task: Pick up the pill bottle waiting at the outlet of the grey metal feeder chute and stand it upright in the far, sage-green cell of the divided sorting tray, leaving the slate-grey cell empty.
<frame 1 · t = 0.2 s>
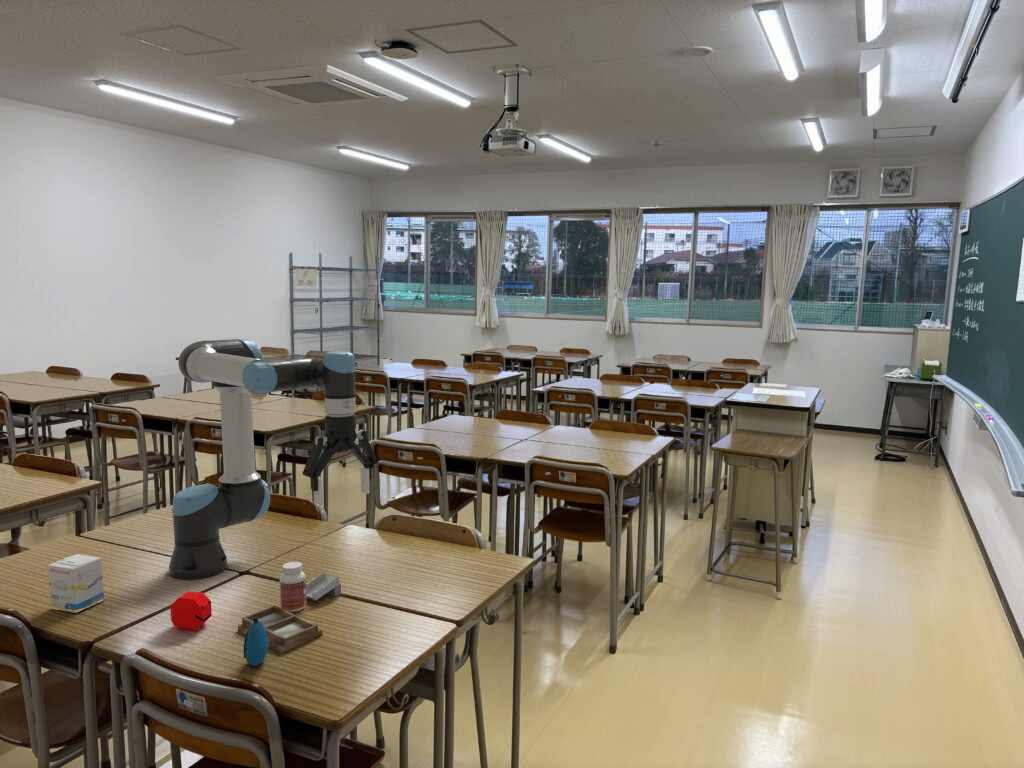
hand: (342, 497, 180), 27 cm above the table, fingers open, 13 cm apart
ornament: (256, 663, 152), on the table
divided sorting tray: (279, 632, 165), on the table
ball: (191, 626, 169), on the table
ink box: (78, 606, 179), on the table
pill bottle: (293, 608, 179), on the table
feeder chute: (320, 596, 185), on the table
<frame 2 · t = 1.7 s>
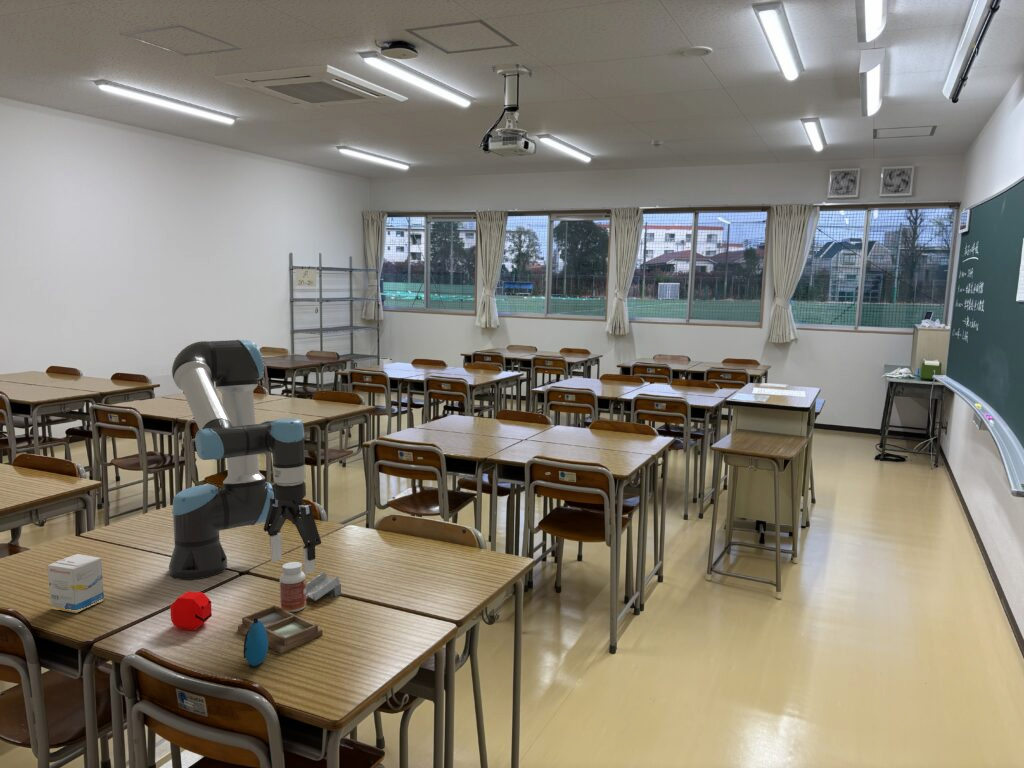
hand: (292, 566, 177), 11 cm above the table, fingers open, 13 cm apart
nothing on the table moved.
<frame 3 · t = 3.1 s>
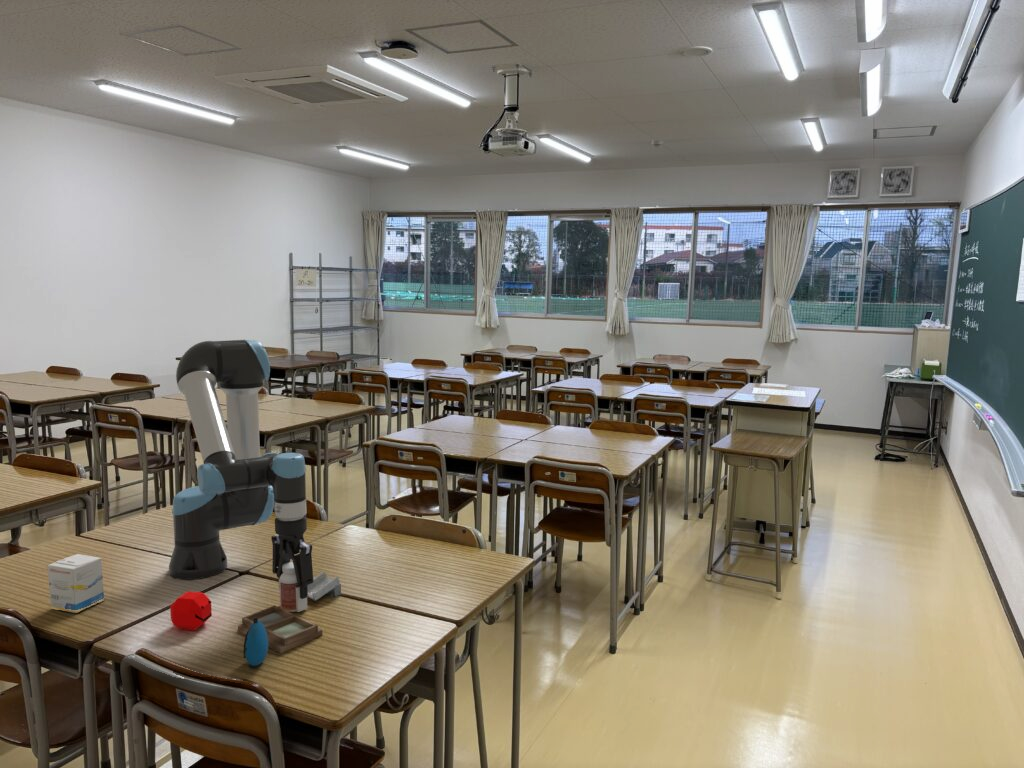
hand: (293, 605, 179), 0 cm above the table, fingers closed on pill bottle, 6 cm apart
pill bottle: (293, 608, 179), on the table, touching gripper
everything else where it was.
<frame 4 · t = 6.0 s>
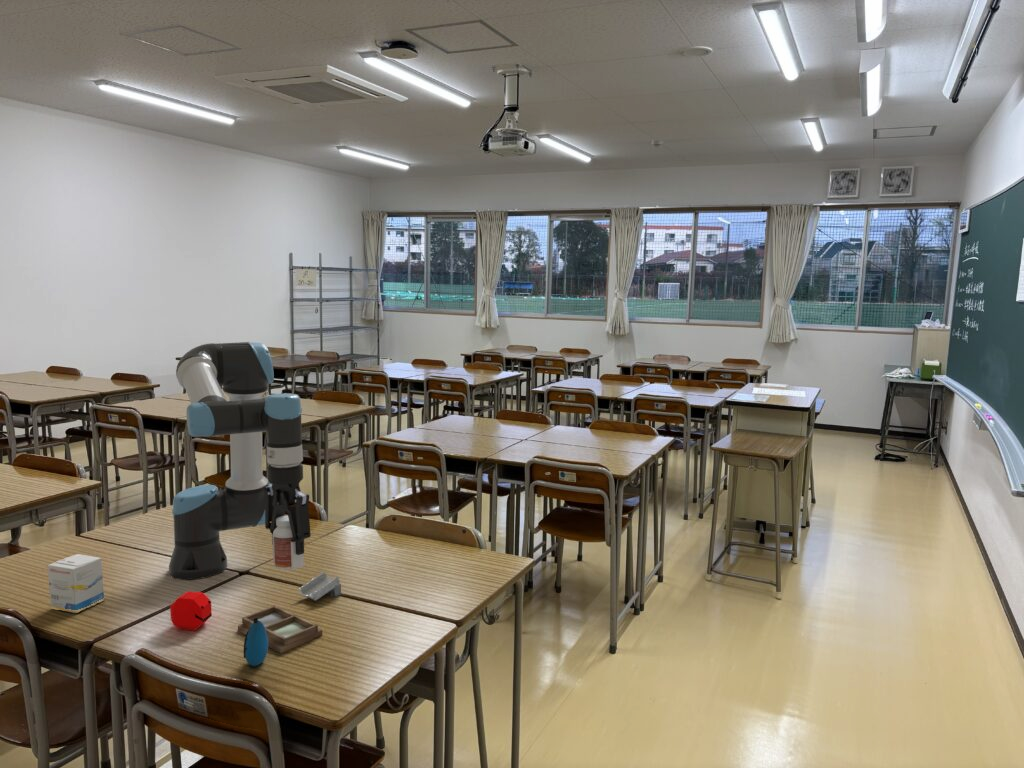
hand: (288, 563, 161), 17 cm above the table, fingers closed on pill bottle, 6 cm apart
pill bottle: (288, 566, 161), point 17 cm above the table, touching gripper
everything else where it was.
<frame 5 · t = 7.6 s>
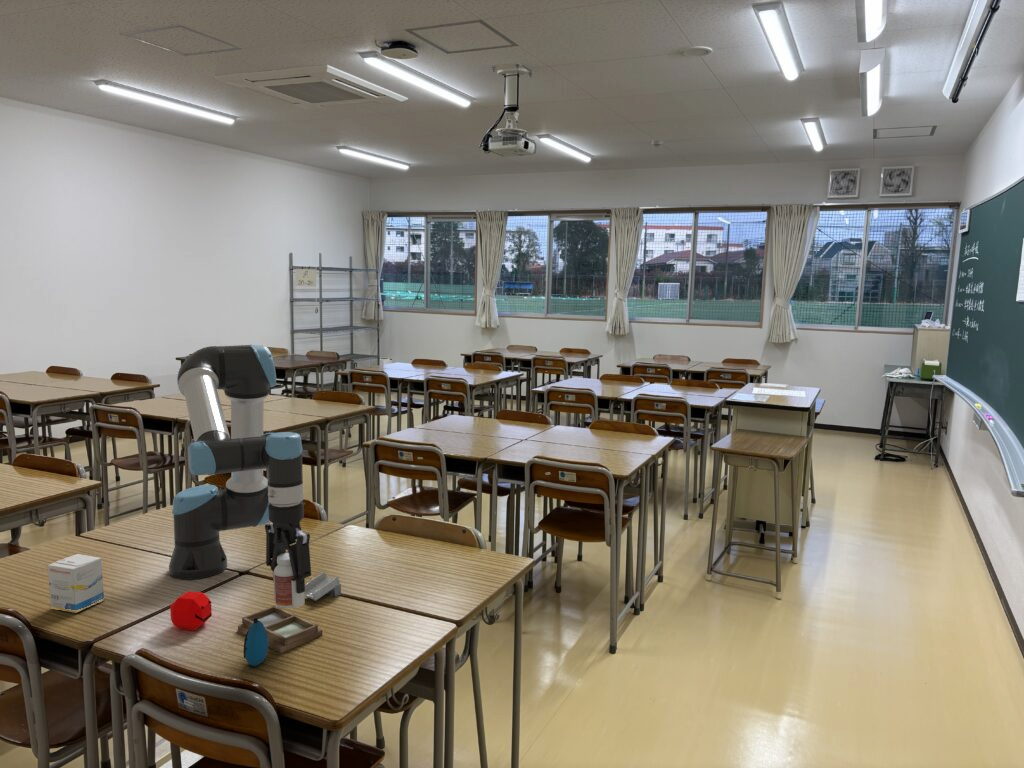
hand: (289, 601, 162), 9 cm above the table, fingers closed on pill bottle, 6 cm apart
pill bottle: (289, 604, 162), point 8 cm above the table, touching gripper
everything else where it was.
when the fingers open (3 cm above the table, at t = 8.9 s): pill bottle drops 2 cm, resting on divided sorting tray.
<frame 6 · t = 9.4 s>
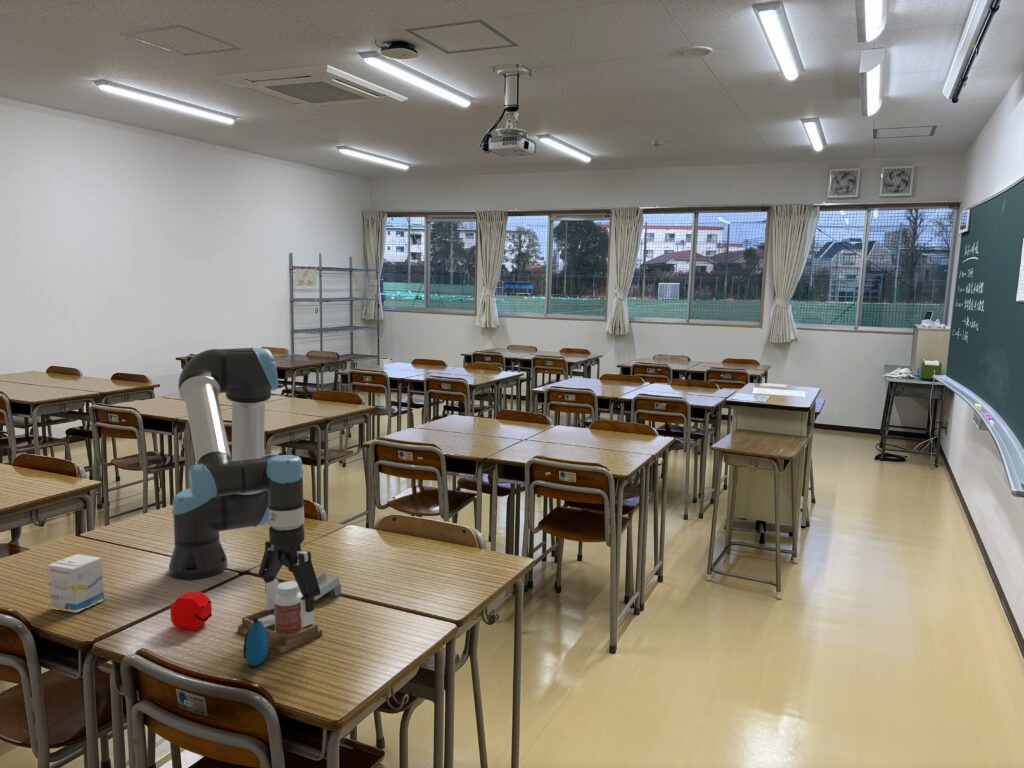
hand: (289, 616, 162), 5 cm above the table, fingers open, 13 cm apart
pill bottle: (289, 632, 163), point 1 cm above the table, touching divided sorting tray
everything else where it was.
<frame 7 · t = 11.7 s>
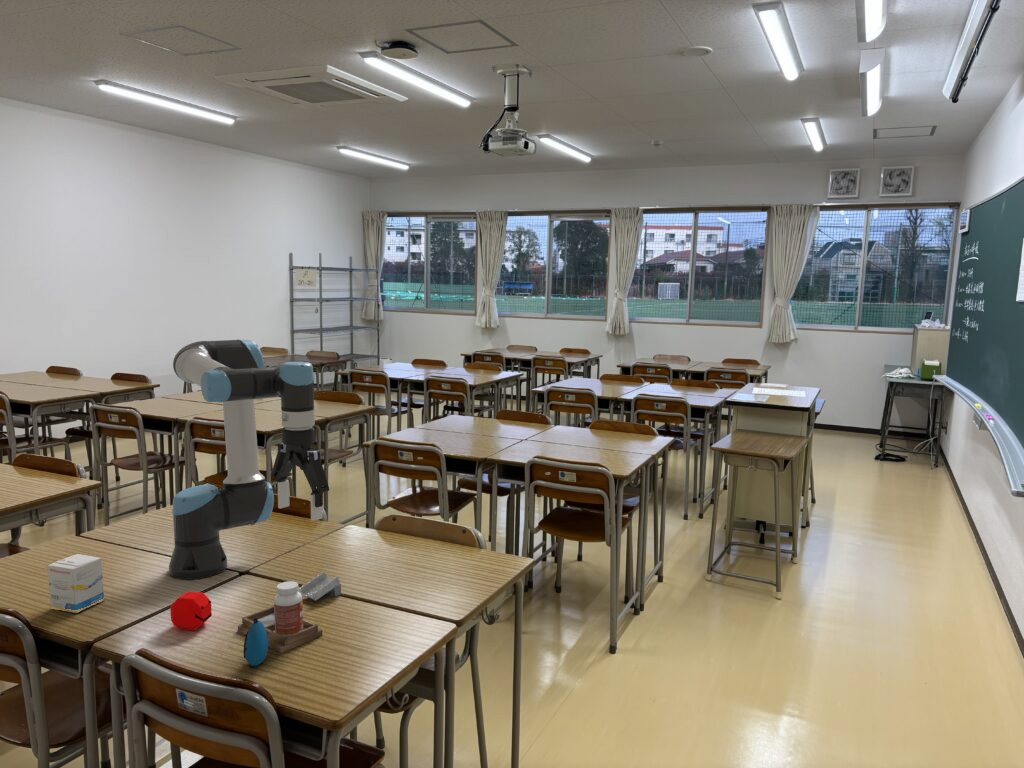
hand: (299, 513, 173), 25 cm above the table, fingers open, 13 cm apart
nothing on the table moved.
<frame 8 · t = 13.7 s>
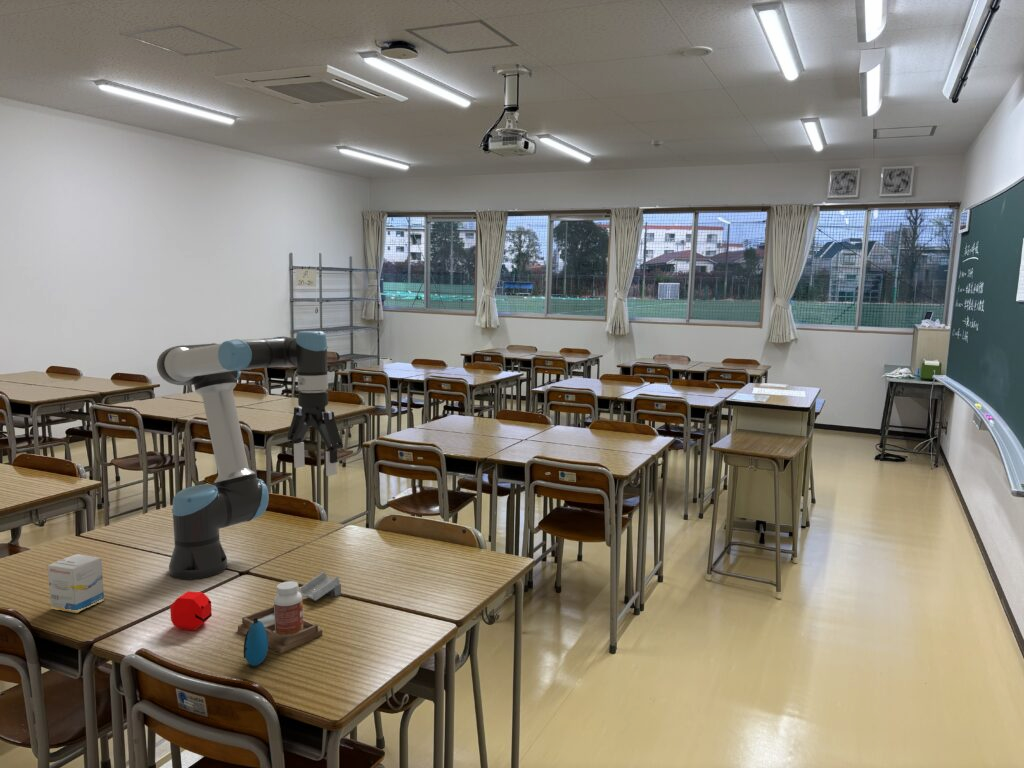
hand: (315, 470, 188), 32 cm above the table, fingers open, 13 cm apart
nothing on the table moved.
at the end: pill bottle 0.5 cm from the target spot on the divided sorting tray, point 1.2 cm above the divided sorting tray's base; pill bottle tilted 0°; the gripper is holding nothing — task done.
